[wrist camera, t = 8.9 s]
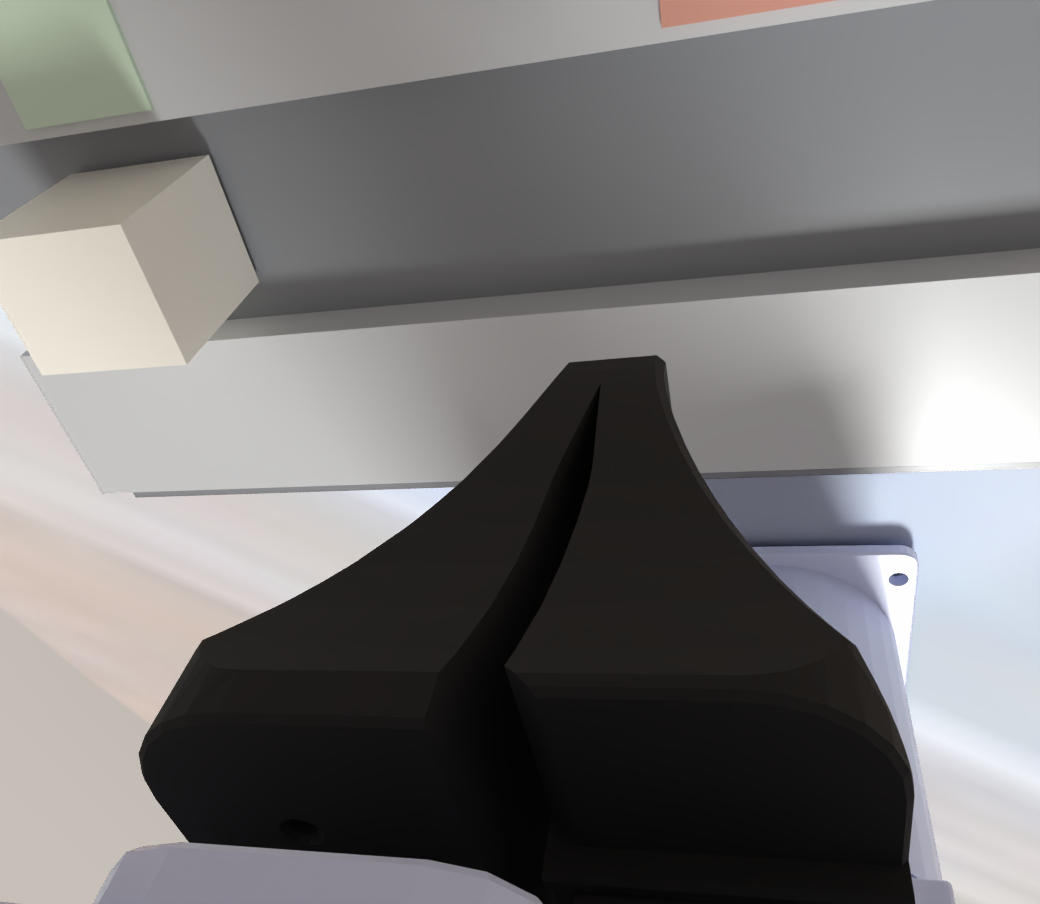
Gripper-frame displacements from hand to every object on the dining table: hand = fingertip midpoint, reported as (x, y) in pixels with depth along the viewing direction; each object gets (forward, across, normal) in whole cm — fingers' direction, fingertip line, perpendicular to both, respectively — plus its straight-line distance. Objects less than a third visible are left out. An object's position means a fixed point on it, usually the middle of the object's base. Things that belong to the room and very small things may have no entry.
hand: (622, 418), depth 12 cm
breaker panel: (+9, +4, -1) cm, 10 cm away
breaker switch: (+7, +11, -1) cm, 13 cm away
